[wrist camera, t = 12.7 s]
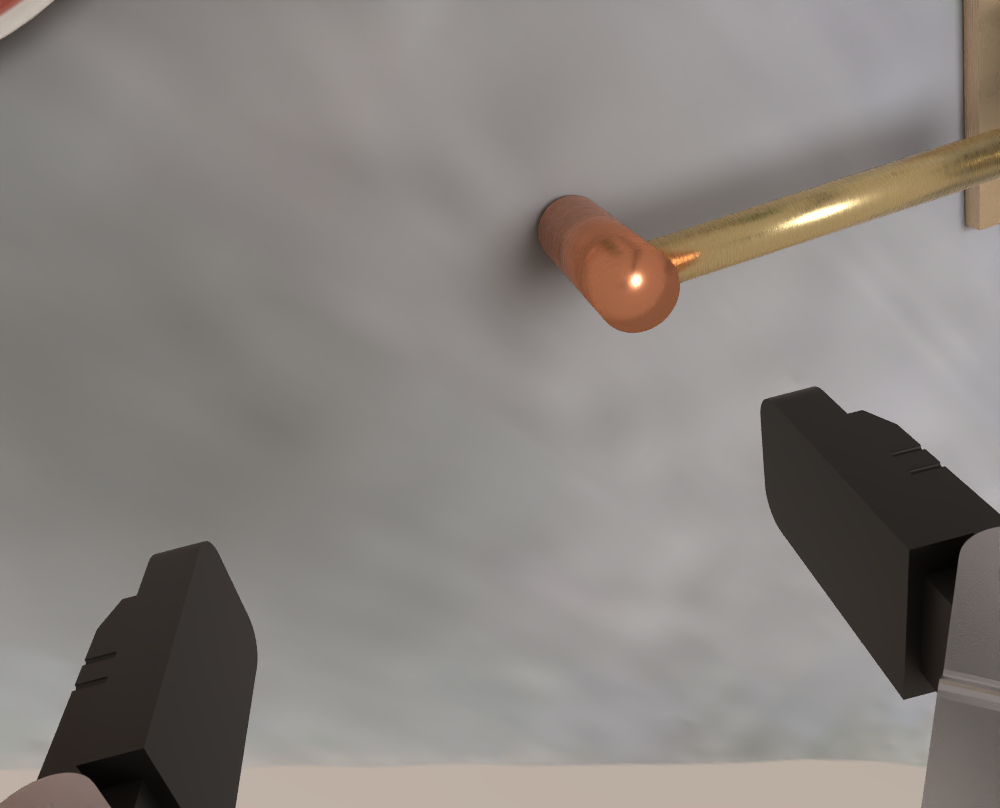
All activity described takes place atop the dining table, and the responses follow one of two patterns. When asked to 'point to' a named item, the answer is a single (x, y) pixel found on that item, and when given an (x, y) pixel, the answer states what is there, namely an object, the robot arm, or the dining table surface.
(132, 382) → the dining table surface
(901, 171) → the copper and brass hammer
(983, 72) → the slotted upright stand
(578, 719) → the dining table surface
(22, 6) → the dinner plate
